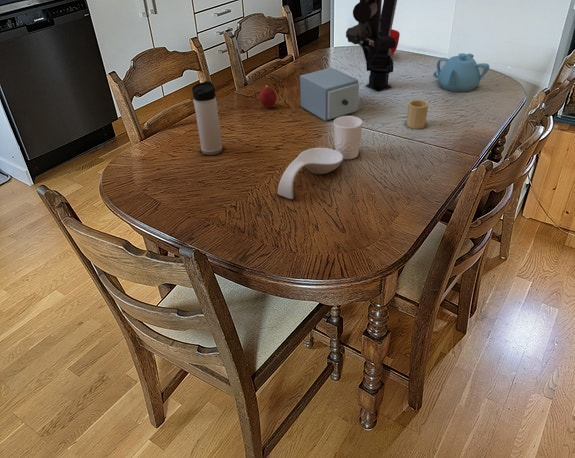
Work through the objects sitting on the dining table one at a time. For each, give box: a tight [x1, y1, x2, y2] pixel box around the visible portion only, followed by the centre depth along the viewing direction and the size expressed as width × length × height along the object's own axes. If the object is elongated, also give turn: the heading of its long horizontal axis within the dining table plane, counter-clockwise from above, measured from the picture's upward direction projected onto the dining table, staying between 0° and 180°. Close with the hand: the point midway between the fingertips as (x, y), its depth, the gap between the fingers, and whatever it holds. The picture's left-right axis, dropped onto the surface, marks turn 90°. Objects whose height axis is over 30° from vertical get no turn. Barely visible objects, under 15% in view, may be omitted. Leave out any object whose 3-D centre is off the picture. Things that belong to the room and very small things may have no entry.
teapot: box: [433, 52, 490, 93], centre depth 178 cm, size 15×17×11 cm
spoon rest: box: [277, 147, 344, 200], centre depth 131 cm, size 24×12×7 cm, turn 146°
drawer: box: [327, 83, 360, 120], centre depth 164 cm, size 15×12×9 cm
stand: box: [405, 99, 429, 130], centre depth 155 cm, size 6×6×7 cm
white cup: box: [333, 115, 363, 160], centre depth 140 cm, size 8×8×10 cm
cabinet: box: [299, 66, 359, 122], centre depth 166 cm, size 15×13×11 cm
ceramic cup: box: [390, 29, 401, 57], centre depth 203 cm, size 13×17×10 cm
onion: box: [258, 84, 278, 109], centre depth 169 cm, size 6×6×8 cm
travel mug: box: [191, 80, 224, 156], centre depth 142 cm, size 6×7×20 cm
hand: (368, 64), depth 165 cm, fingers closed
